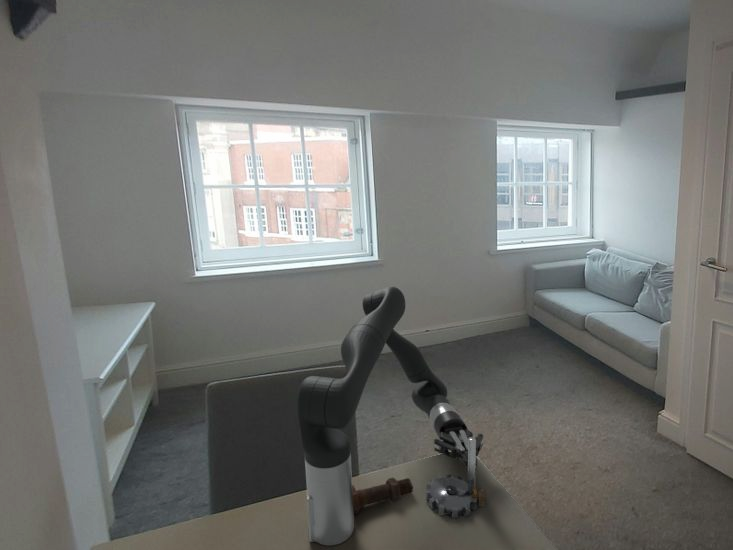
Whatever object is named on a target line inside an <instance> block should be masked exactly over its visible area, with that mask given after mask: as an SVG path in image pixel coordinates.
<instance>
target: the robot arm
mask: <svg viewBox="0 0 733 550" xmlns="http://www.w3.org/2000/svg"><path fill="white" fill-rule="evenodd" d="M362 310H363V312H364V315H365V316H364V317H362V318H361V319H359V320H358V321H357V322H355V324H354V325H353V326H351V328H350V330H349V331H348V332H347V334H346V335H345V337H344V339H343V340H342V343H341V346H340V356H341V359H342V362H343V364H344V367H345V369H346V371H347V374H346V375H345V376H344V377H343V378H336V377H327V376H319V375H318V376H316V375H310V376H307V377H306V378H304V380H302V381H301V383H300V385H299V388H298V391H297V396H296V397H297V398H296V413H297V422H298V429H299V430H298V431H299V437H300V445H301V449H302V451H303V454H304V466H305V481H306V482H305V483H306V506H307V507H306V509H307V511H306V512H307V525H308V535H309V543H310V542H311V543H313V542H314V543H315V542H316V543H318V544H320V545H322V546H336V545H339V544H342V543H344V542H346V541H347V540H349V538H350V537H351V536H352V534H353V532H354V529H355V515H354V514H353V493H352V485H353V475H352V454H351V451H352V450H351V441H350V438H349V437H348V435H347V434H346V433H344V432H343V431H342V430H340V429H344V428H346V427H347V426H348V425H349V424H350V423H351V422H352V420H353V419H354V416H355V413H356V412H357V408H358V406H359V403H360V401H361V397H362V396H363V393H364V389H365V387H366V384H367V382H368V379H369V377H370V375H371V373H372V371H373V369H374V367H375V365H376V364H377V362H378V361H379V358H380V356H381V353H383V350H384V349H385V348H384V347H385V345H387V347H388V348H389V349H390V350H391V352H392V353H393V354H394V355H393V356H395V358H396V360H397V361H398V362H399V364H400V367H401V368H402V370H403V372H404V373H405V376H406V378H407V379H408V380H409V382H410V383H413V384H417V383H418V384H419V383H421V384H420V385H418V386H416V387H414V388H413V390H412V392H411V400H412V401H413V403H414V404H415V406H416V407H417V408H418V409H419V410H421V411H422V412H423V413H425V414H426V415H427V416H428V418H429V420H430V422H431V426H432V428H433V429H434V431H435V433H436V435H437V436H438V438H435V439H434V441H433V442H434V443H433V446H434V447H433V448H434V451H436V452H438V453H440V454H441V455H444V456H446V457H448V458H449V459H453V460H455V459H458V458H459V460H461V462H462V463H463V465H464V466H465V467H466V468H468V438H469V437H474V438H475V439H476V464H475V469H476V467H477V466H478V459H477V457H478V456H479V454H480V451H481V450H482V447H483V445H484V434H482V433H479V434H477V435H475V434H474V433H473V432H472V431H470V430H469V429H468V427H467V425H466V423H465V422H464V420H463V418H462V417H461V416H460V415H459V413H458V412H457V410H456V408H454V407H453V406H452V404H451V403H450V400H448V399H447V396H448V389H447V386H446V385H445V383H444V382H443V381H442V380H441V379H440V378H439V377H438V376H437V375H436V374H435V373H434V372H433V371H432V369H430V367H429V365H428V364H427V363H428V362H426V359H425V358H424V355H423V353H422V352H421V350H420V349H419V348H418V347H417V346H416V345H415V344H414V343H413V342H412V341H410V340H409V339H407V338H405V337H404V336H403V335H401V334H400V333H398V331H396V330H395V329H394V328H395V327H396V325H397V324H398V323H399V322H400V320H401V319H402V317H403V316H404V314H405V310H406V298H405V295H404V293H403V292H402V290H401V289H399V288H398V287H396V286H386V287H384V288H381V289H379V290H376V291H373V292H370V293H368V294H366V295H364V297H363V299H362ZM422 382H423V383H422Z"/></svg>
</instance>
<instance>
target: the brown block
mask: <svg viewBox="0 0 733 550" xmlns="http://www.w3.org/2000/svg"><path fill="white" fill-rule="evenodd" d="M485 492H486V491H485V490H482V489H479V490H478V506H479V507H482V508H483V507H485V506H486V497H485V496H486V493H485Z"/></svg>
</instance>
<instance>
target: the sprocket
mask: <svg viewBox="0 0 733 550" xmlns="http://www.w3.org/2000/svg"><path fill="white" fill-rule="evenodd" d="M476 458H477V456H476V439H475V438H474V437H469V438H468V467H467V482H466V481H465V480H464V477H462V476H457V477H452V475H451V474H445V476H444V477H441V476H439V475H437V476H435V477H433V478H434V479H433V481H428V482H427V484H426V486H427V487H426V489H425V499H426V501H428V506H429V507H430V509H432V510H434V509H436V510H438V514H439V515H440V516H443V517H444V516H445V515H446V514H447V515H451V517H452V519H453V518H455V519H456V518H459V515H464V516H465V517H468V516H469V515H471V509H472V510H473V511H474V510H476V509H477V506H478V492H477V491H478V490H477V489H476V468H475V464H476Z"/></svg>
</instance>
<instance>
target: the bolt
mask: <svg viewBox="0 0 733 550" xmlns="http://www.w3.org/2000/svg"><path fill="white" fill-rule="evenodd" d="M413 489H414V486H413V483H412V481H411V479H410V478H409V477H407V478H403V479H399V480H397V479H396V478H395V477H390V478H387V480H386V481H385V483H383V484H379V485H377V486H376V485H375V486H372V487H367V488H364V489H357V490H356V487H355V486H354V484H352V493H353V514H354V516H356V515H358V514H359V512H360V508H362V507H365V506H369V505H372V504H377V503H379V502H384V501H387V500H389V501H390V502H391V503H395V502H398V501H399V500H400V499H401V497H402V496H406V495H410V494H412V493H414V490H413Z"/></svg>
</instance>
